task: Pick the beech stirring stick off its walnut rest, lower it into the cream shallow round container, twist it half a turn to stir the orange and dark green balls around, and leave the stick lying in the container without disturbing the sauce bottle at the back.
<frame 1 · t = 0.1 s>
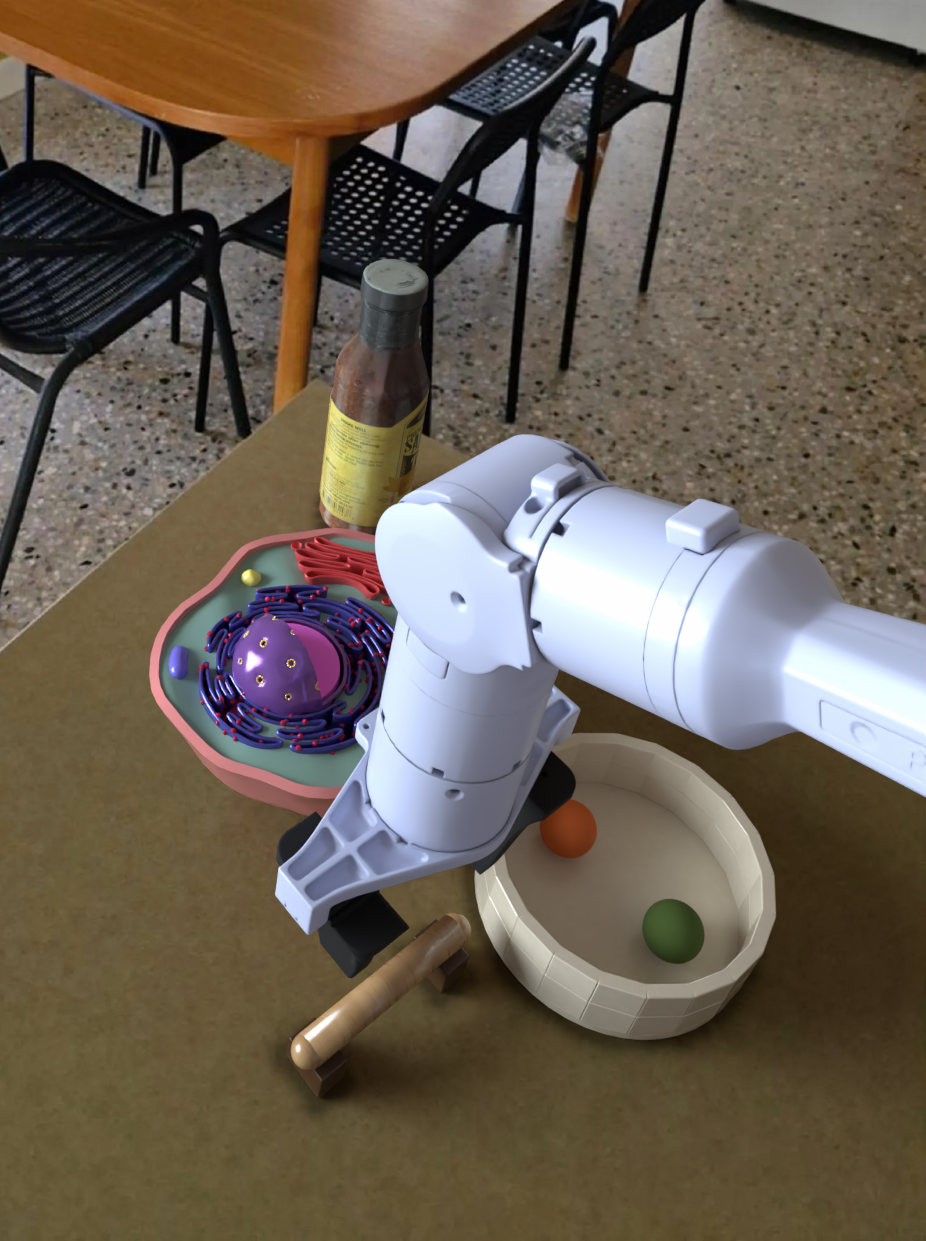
hand: (407, 903, 54), 11 cm above the table, tool pointing down, fingers open, 7 cm apart
stick: (382, 995, 60), point 2 cm above the table, touching stick rest
green ball: (673, 931, 63), point 2 cm above the table, touching cream shallow round container
stick rest: (377, 1014, 61), on the table
cream shallow round container: (609, 898, 66), on the table
orange ball: (568, 828, 67), point 2 cm above the table, touching cream shallow round container
sauce bottle: (360, 514, 88), on the table
cell model: (318, 734, 73), on the table
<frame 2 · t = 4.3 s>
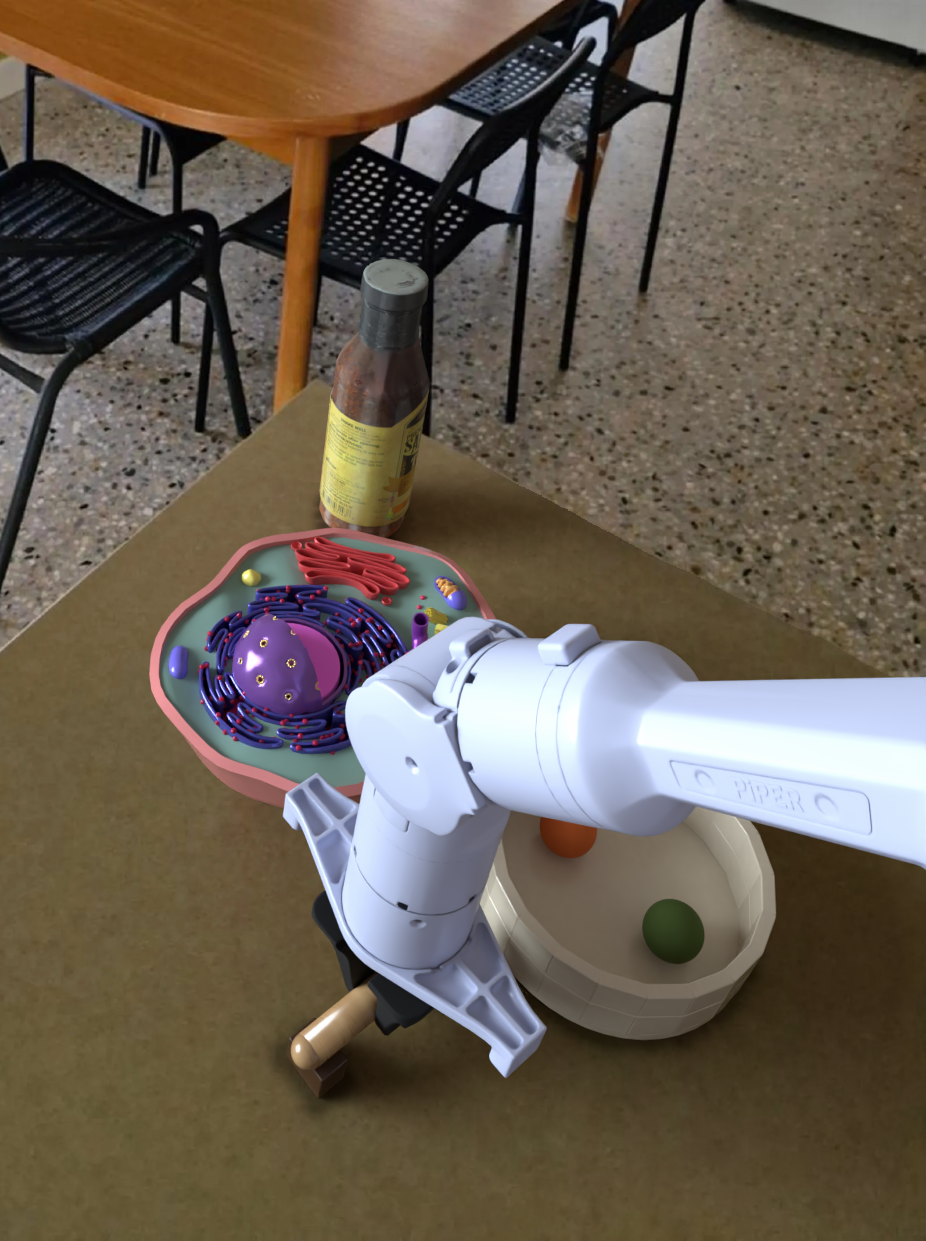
hand: (381, 999, 60), 2 cm above the table, tool pointing down, fingers closed on stick, 1 cm apart
stick: (382, 995, 60), point 2 cm above the table, touching gripper, stick rest
everything else where it was.
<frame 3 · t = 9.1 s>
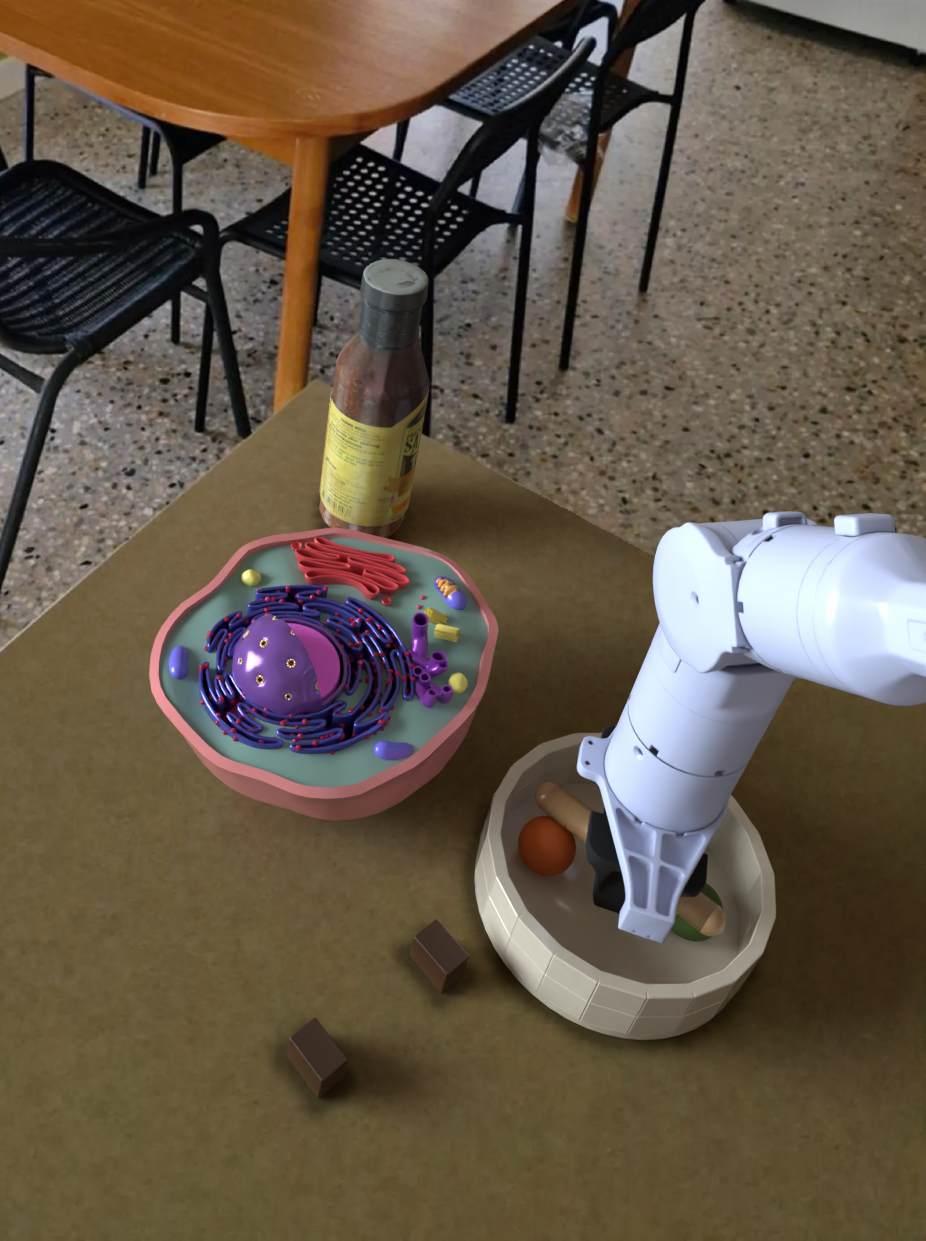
hand: (617, 874, 65), 2 cm above the table, tool pointing down, fingers closed on stick, 3 cm apart
stick: (622, 864, 65), point 3 cm above the table, touching green ball, gripper, orange ball
green ball: (692, 909, 64), point 2 cm above the table, tilted 68°, touching cream shallow round container, stick
orange ball: (546, 845, 66), point 2 cm above the table, tilted 65°, touching cream shallow round container, stick
everything else where it was.
when the fingers open (2 cm above the table, at t = 9.8 s): stick drops 2 cm and tips over, resting on cream shallow round container.
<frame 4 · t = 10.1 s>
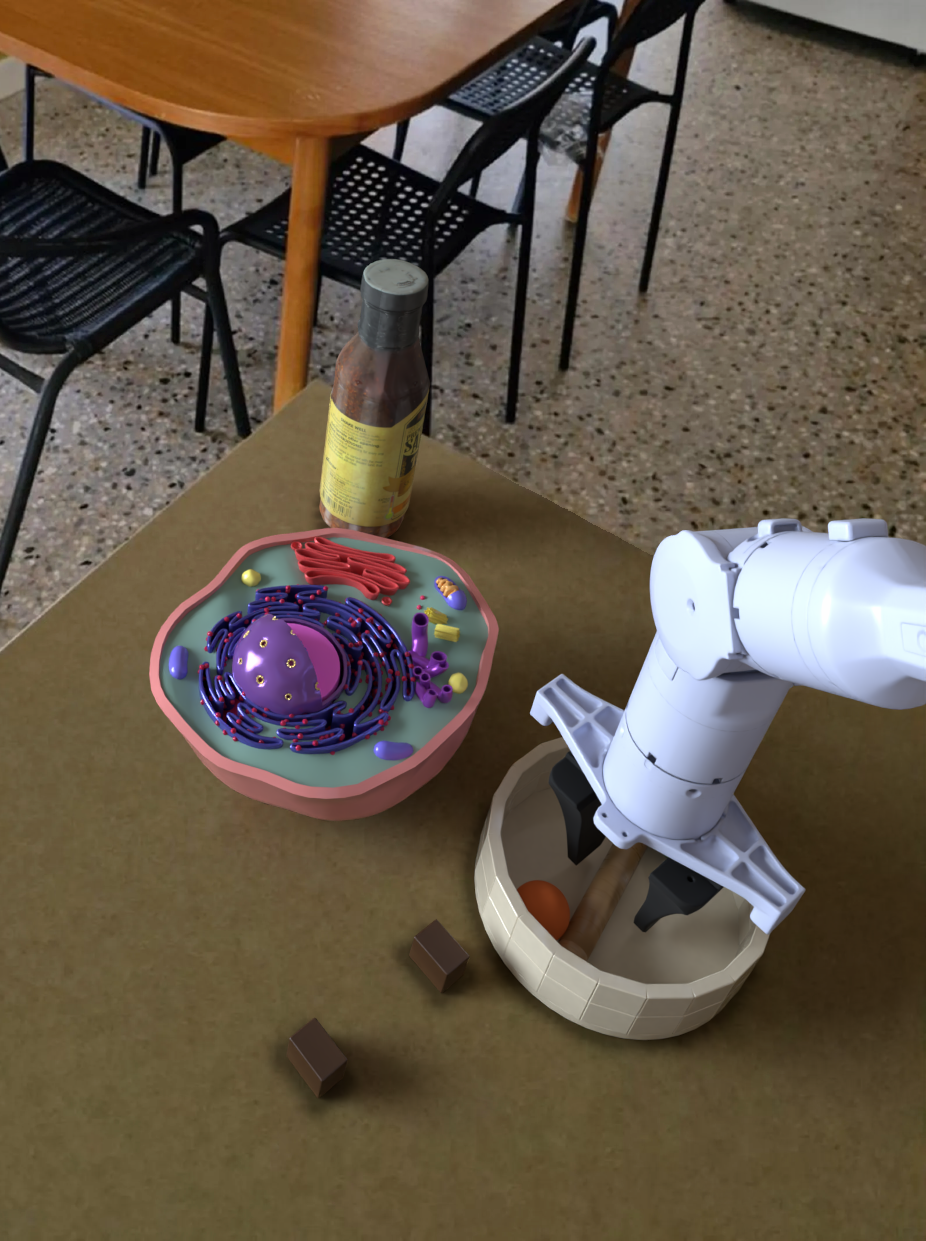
hand: (616, 883, 65), 2 cm above the table, tool pointing down, fingers open, 4 cm apart
stick: (622, 892, 66), point 1 cm above the table, tilted 70°, touching cream shallow round container
green ball: (684, 837, 67), point 2 cm above the table, tilted 115°, touching cream shallow round container
orange ball: (539, 912, 63), point 2 cm above the table, tilted 143°, touching cream shallow round container
everything else where it was.
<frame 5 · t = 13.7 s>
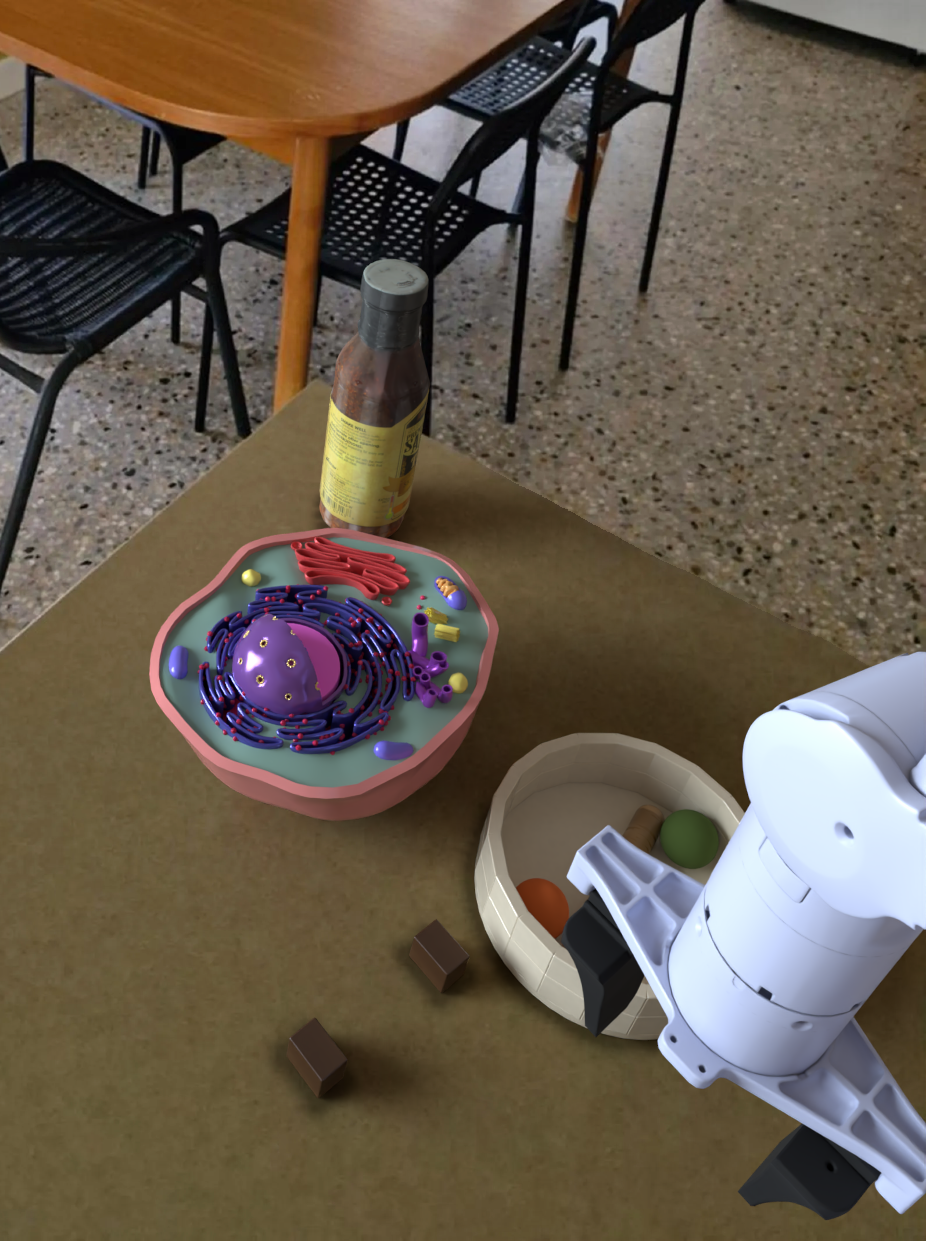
hand: (679, 1095, 50), 9 cm above the table, tool pointing down, fingers open, 7 cm apart
stick: (623, 895, 66), point 1 cm above the table, tilted 53°, touching cream shallow round container
green ball: (689, 839, 67), point 2 cm above the table, tilted 122°, touching cream shallow round container
everything else where it was.
at the end: orange ball moved 5.2 cm from its start; stick inside the target area in the cream shallow round container (0.5 cm from its centre), point 0.9 cm above the cream shallow round container's base; sauce bottle moved 0.2 cm from its start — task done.
